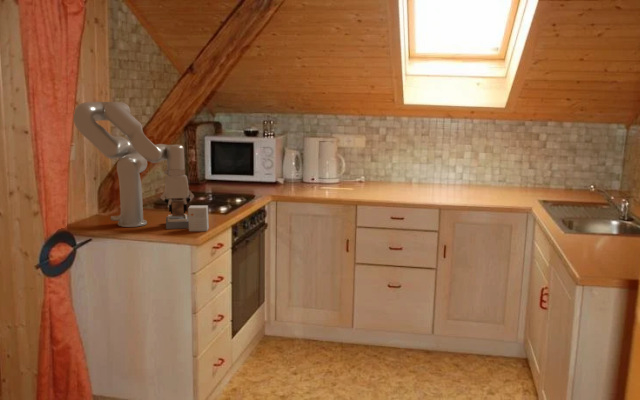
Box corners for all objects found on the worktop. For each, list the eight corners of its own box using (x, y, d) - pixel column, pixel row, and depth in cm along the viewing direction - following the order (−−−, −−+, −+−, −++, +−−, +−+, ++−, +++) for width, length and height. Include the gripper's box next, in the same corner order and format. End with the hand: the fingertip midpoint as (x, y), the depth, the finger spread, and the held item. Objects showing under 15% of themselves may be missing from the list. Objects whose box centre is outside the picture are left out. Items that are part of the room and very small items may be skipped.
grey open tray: (166, 229, 269) (165, 220, 268) (166, 223, 280) (166, 214, 280) (189, 228, 271) (189, 219, 270) (188, 222, 283) (188, 213, 282)
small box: (208, 228, 271) (208, 205, 269) (207, 231, 266) (206, 207, 264) (190, 228, 271) (190, 205, 269) (188, 231, 265) (187, 207, 263)
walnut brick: (172, 216, 271) (171, 202, 270) (172, 213, 277) (172, 200, 276) (183, 215, 272) (183, 202, 271) (183, 213, 278) (183, 200, 278)
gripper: (156, 174, 266) (158, 215, 269) (196, 173, 270) (197, 213, 273) (156, 172, 273) (158, 212, 276) (195, 171, 277) (197, 210, 280)
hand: (178, 212), depth 275 cm, fingers closed on walnut brick, 5 cm apart
